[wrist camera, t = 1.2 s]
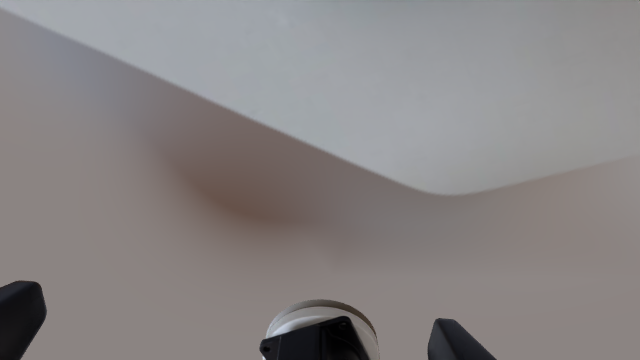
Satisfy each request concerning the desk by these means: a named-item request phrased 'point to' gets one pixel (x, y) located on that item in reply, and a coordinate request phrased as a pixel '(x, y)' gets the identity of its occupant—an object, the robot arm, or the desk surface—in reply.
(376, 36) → the desk surface
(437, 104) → the desk surface
